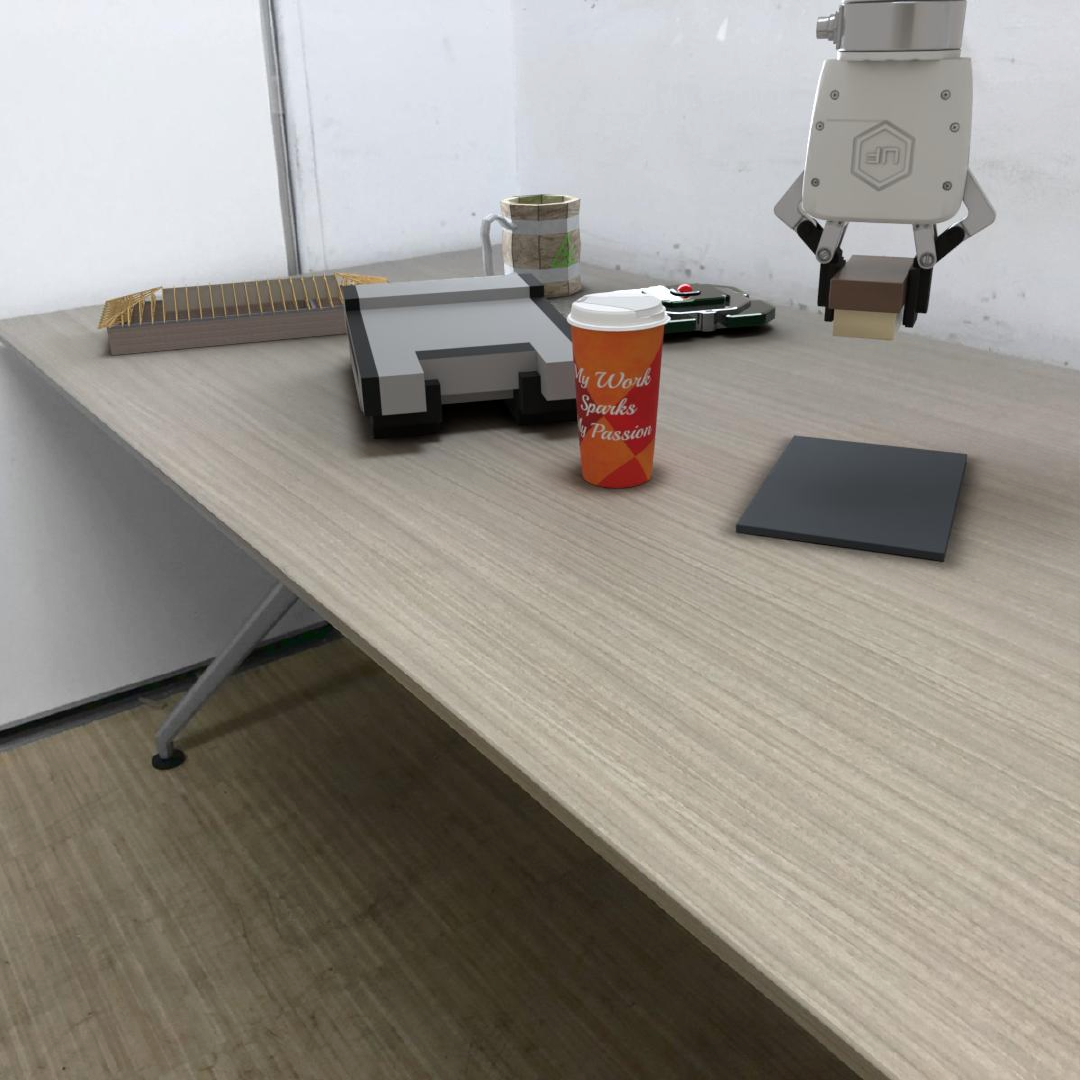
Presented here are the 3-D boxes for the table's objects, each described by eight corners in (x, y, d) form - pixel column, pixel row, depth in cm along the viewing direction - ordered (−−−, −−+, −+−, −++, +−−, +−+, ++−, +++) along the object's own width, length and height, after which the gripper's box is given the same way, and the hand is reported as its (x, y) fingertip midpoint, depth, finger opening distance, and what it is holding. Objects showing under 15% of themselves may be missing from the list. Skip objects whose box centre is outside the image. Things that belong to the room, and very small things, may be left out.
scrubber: (847, 309, 83) (852, 254, 81) (911, 313, 81) (918, 257, 79) (825, 338, 75) (830, 278, 74) (896, 343, 74) (903, 283, 72)
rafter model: (388, 304, 148) (384, 257, 145) (407, 329, 135) (403, 278, 132) (110, 329, 139) (101, 279, 137) (103, 357, 127) (92, 304, 124)
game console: (368, 458, 94) (359, 363, 91) (348, 360, 123) (341, 286, 119) (605, 435, 98) (605, 344, 94) (533, 345, 126) (531, 273, 123)
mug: (544, 278, 160) (542, 192, 155) (598, 288, 153) (597, 198, 148) (459, 296, 151) (454, 205, 146) (512, 308, 144) (508, 212, 139)
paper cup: (555, 486, 87) (551, 309, 82) (587, 454, 94) (586, 287, 88) (651, 498, 85) (654, 315, 79) (677, 464, 91) (682, 293, 85)
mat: (793, 441, 95) (793, 435, 95) (966, 460, 90) (967, 453, 90) (735, 531, 79) (735, 524, 78) (943, 561, 74) (944, 553, 73)
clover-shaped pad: (785, 333, 128) (788, 293, 127) (637, 347, 125) (637, 306, 123) (724, 301, 144) (726, 265, 142) (591, 312, 141) (591, 275, 139)
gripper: (753, 38, 70) (738, 324, 78) (1044, 32, 64) (997, 343, 72) (778, 36, 77) (762, 301, 84) (1046, 31, 70) (1002, 317, 78)
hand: (871, 317), depth 78 cm, fingers closed on scrubber, 4 cm apart
